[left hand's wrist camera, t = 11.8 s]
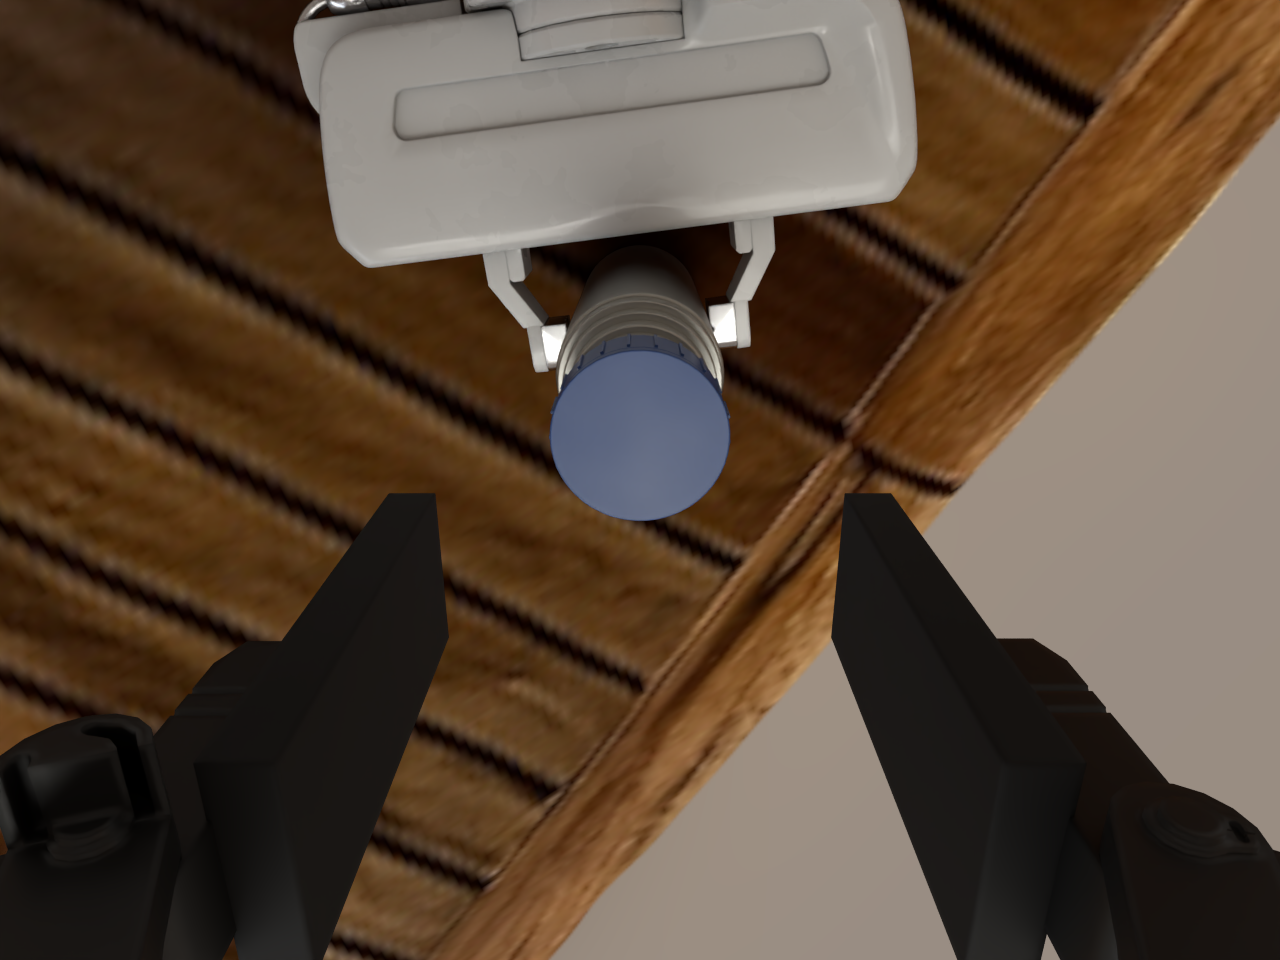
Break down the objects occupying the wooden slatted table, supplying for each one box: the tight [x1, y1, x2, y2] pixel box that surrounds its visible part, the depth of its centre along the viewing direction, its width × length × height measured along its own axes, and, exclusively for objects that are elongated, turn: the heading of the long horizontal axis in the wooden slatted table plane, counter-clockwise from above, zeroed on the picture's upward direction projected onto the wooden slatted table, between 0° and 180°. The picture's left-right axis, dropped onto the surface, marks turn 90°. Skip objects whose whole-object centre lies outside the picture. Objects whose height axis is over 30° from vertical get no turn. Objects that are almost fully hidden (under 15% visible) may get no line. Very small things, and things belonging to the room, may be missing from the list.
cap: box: [549, 334, 730, 521], centre depth 21 cm, size 4×4×2 cm
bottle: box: [556, 245, 724, 395], centre depth 30 cm, size 5×5×19 cm
